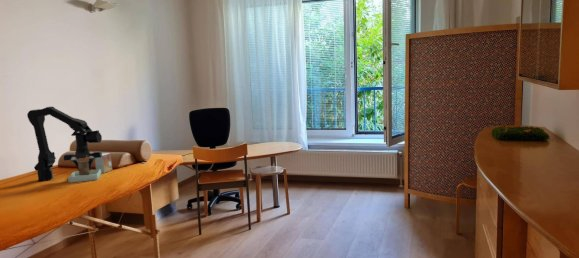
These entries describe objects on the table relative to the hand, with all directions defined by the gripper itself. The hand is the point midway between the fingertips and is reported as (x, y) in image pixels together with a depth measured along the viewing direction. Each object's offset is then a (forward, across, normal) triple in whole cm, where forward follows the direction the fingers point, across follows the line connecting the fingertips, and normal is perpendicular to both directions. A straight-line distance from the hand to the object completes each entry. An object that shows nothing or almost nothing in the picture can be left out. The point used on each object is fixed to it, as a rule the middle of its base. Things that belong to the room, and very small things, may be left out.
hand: (84, 170), depth 239 cm
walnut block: (+2, 0, 0) cm, 2 cm away
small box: (+4, +8, +14) cm, 17 cm away
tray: (+4, 0, 0) cm, 4 cm away
